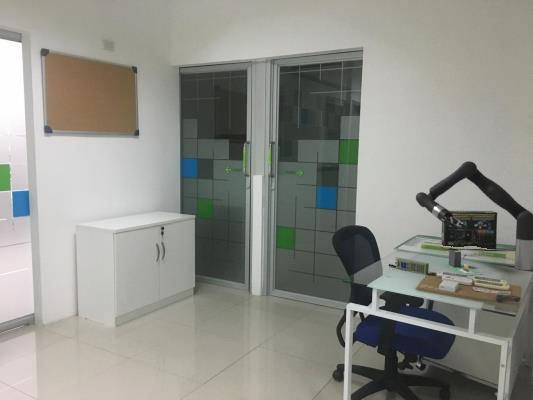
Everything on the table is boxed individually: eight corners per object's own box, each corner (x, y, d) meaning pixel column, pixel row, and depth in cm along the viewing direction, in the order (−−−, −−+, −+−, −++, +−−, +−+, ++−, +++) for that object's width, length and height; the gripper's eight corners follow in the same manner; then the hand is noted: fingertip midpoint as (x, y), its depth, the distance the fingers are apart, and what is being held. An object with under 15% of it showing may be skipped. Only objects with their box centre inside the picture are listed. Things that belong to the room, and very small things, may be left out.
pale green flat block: (438, 266, 269) (439, 258, 268) (461, 265, 270) (461, 257, 270) (458, 275, 247) (459, 266, 246) (483, 275, 248) (483, 265, 248)
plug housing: (448, 265, 267) (449, 249, 266) (454, 264, 268) (455, 249, 267) (454, 267, 261) (455, 251, 260) (460, 267, 261) (461, 251, 261)
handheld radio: (425, 275, 248) (386, 267, 267) (429, 275, 250) (390, 266, 269) (426, 263, 248) (387, 256, 267) (429, 263, 250) (390, 255, 269)
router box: (491, 248, 326) (493, 210, 324) (497, 251, 315) (499, 212, 313) (439, 246, 332) (440, 210, 329) (443, 249, 321) (444, 211, 318)
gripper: (436, 207, 265) (457, 222, 252) (452, 208, 272) (473, 223, 259) (431, 218, 268) (451, 234, 255) (447, 219, 275) (467, 234, 263)
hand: (462, 228), depth 257 cm, fingers open, 8 cm apart
